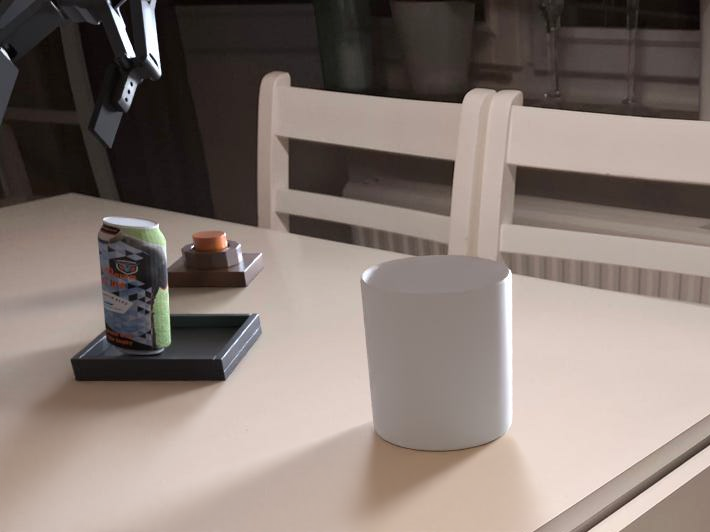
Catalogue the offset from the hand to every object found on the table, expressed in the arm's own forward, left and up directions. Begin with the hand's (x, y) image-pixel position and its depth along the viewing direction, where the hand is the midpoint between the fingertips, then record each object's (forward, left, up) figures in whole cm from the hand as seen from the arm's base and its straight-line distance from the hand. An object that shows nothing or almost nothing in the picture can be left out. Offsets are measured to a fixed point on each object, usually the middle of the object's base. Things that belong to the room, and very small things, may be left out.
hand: (41, 130), depth 98 cm
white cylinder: (+41, -27, -19) cm, 53 cm away
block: (+8, +21, -19) cm, 29 cm away
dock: (+12, -9, -19) cm, 24 cm away
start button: (+8, +21, -16) cm, 27 cm away
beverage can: (+10, -11, -18) cm, 23 cm away
